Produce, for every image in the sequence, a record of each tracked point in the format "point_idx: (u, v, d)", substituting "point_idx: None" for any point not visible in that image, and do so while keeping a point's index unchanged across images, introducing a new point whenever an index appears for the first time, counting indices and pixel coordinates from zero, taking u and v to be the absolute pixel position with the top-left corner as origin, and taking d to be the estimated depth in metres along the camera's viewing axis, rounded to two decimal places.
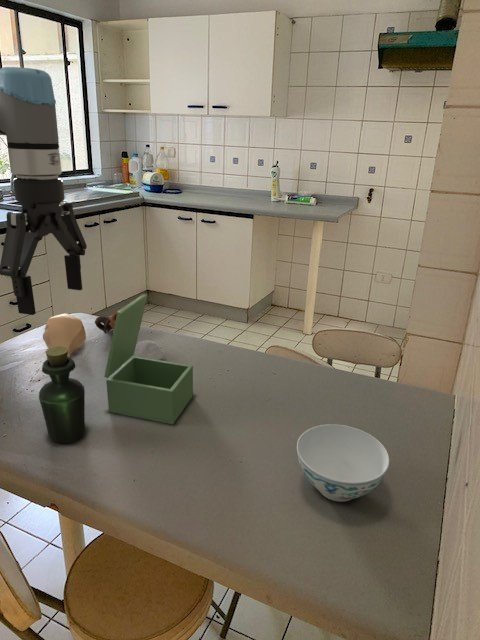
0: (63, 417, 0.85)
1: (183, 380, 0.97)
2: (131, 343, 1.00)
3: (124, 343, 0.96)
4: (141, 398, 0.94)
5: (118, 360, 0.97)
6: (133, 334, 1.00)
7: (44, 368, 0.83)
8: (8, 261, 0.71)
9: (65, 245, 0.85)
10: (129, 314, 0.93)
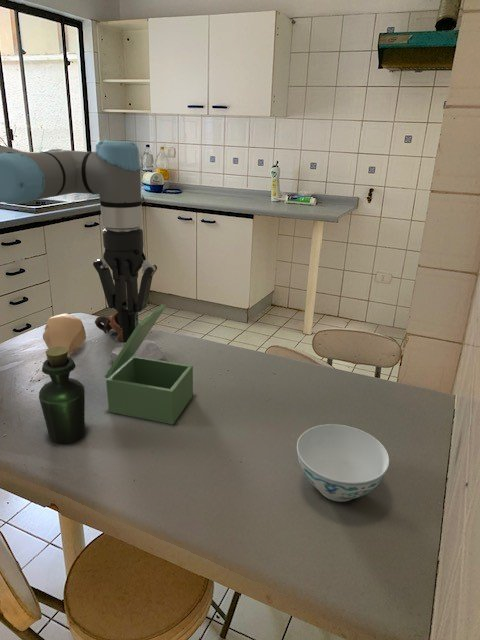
0: (63, 417, 0.85)
1: (183, 380, 0.97)
2: (136, 347, 1.00)
3: (132, 348, 0.96)
4: (141, 398, 0.94)
5: (121, 362, 0.97)
6: (141, 339, 0.99)
7: (44, 368, 0.83)
8: (145, 301, 0.93)
9: (123, 296, 0.93)
10: (146, 325, 0.93)
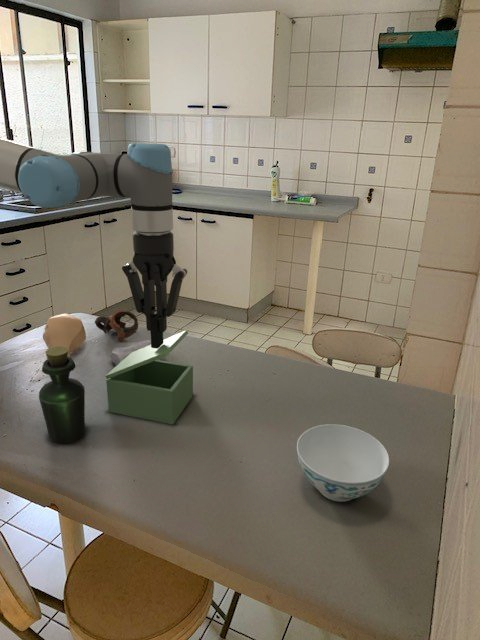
0: (63, 417, 0.85)
1: (183, 380, 0.97)
2: None
3: None
4: (141, 398, 0.94)
5: None
6: None
7: (44, 368, 0.83)
8: (175, 305, 0.91)
9: (151, 301, 0.92)
10: None
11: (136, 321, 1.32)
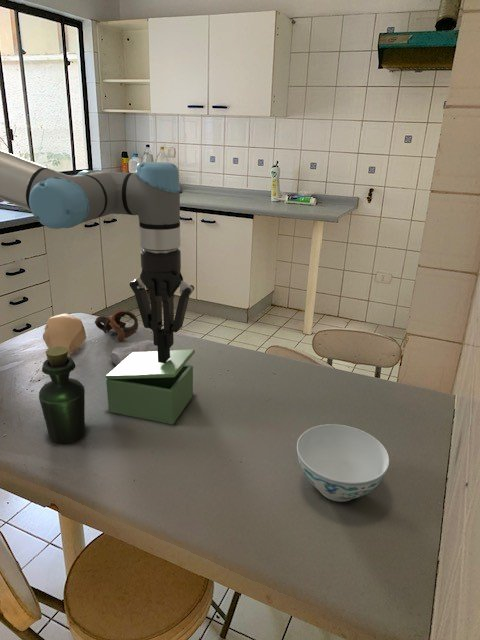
0: (63, 417, 0.85)
1: (183, 380, 0.97)
2: None
3: None
4: (141, 398, 0.94)
5: None
6: None
7: (44, 368, 0.83)
8: (181, 321, 0.92)
9: (158, 316, 0.93)
10: None
11: (136, 321, 1.32)
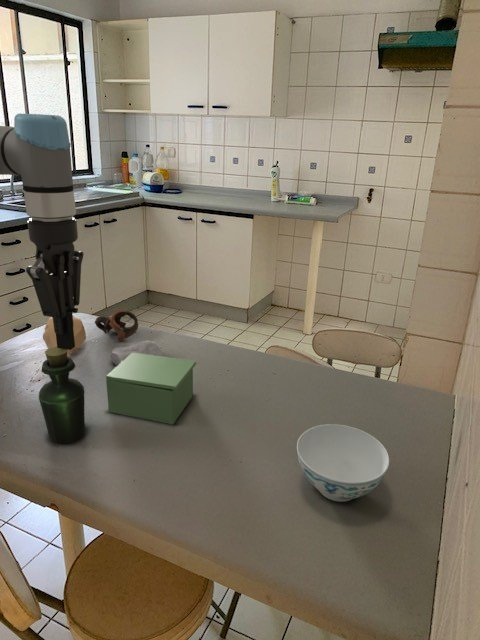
0: (63, 417, 0.85)
1: (183, 380, 0.97)
2: None
3: None
4: (141, 398, 0.94)
5: None
6: None
7: (43, 368, 0.83)
8: None
9: None
10: None
11: (136, 321, 1.32)
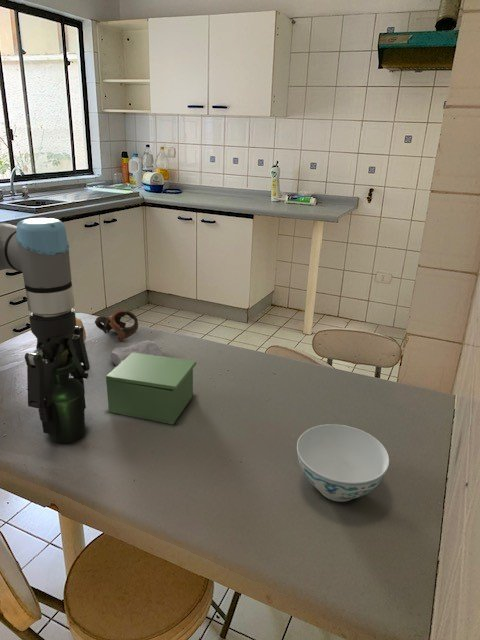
0: (63, 417, 0.85)
1: (183, 380, 0.97)
2: None
3: None
4: (141, 398, 0.94)
5: None
6: None
7: None
8: None
9: None
10: None
11: (136, 321, 1.32)
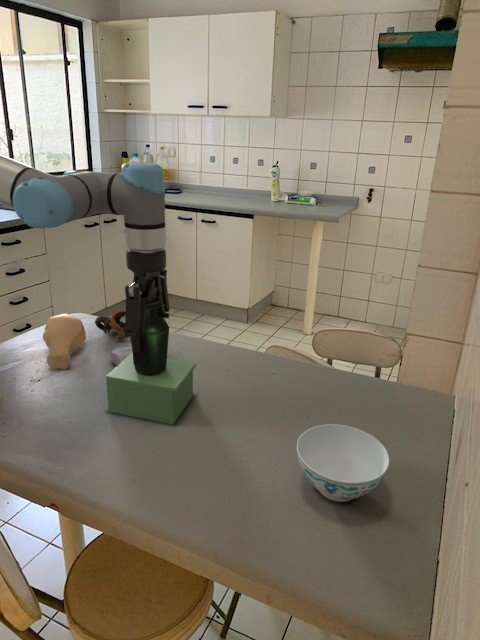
0: (152, 350, 0.93)
1: None
2: None
3: None
4: (141, 398, 0.94)
5: None
6: None
7: None
8: None
9: None
10: None
11: None
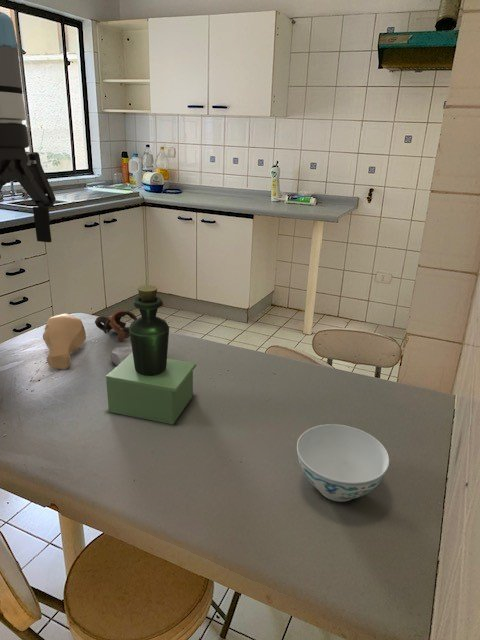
0: (152, 350, 0.93)
1: None
2: None
3: None
4: (141, 398, 0.94)
5: None
6: None
7: (137, 303, 0.90)
8: None
9: None
10: None
11: None
